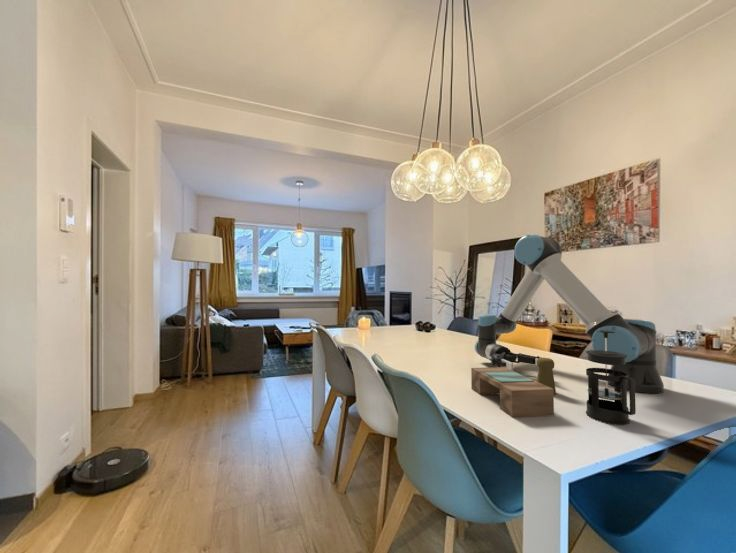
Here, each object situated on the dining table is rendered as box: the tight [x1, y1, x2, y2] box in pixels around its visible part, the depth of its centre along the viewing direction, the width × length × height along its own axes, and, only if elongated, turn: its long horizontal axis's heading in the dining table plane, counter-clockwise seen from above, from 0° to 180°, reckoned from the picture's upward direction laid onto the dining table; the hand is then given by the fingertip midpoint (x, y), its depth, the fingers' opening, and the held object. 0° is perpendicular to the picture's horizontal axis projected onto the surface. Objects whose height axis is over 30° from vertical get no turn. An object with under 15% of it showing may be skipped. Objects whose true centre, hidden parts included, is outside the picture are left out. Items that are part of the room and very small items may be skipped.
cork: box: [536, 357, 557, 395], centre depth 107 cm, size 6×6×11 cm
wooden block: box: [470, 366, 555, 418], centre depth 99 cm, size 24×12×7 cm, turn 8°
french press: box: [585, 330, 637, 426], centre depth 86 cm, size 12×9×23 cm
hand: (530, 366), depth 115 cm, fingers open, 13 cm apart
